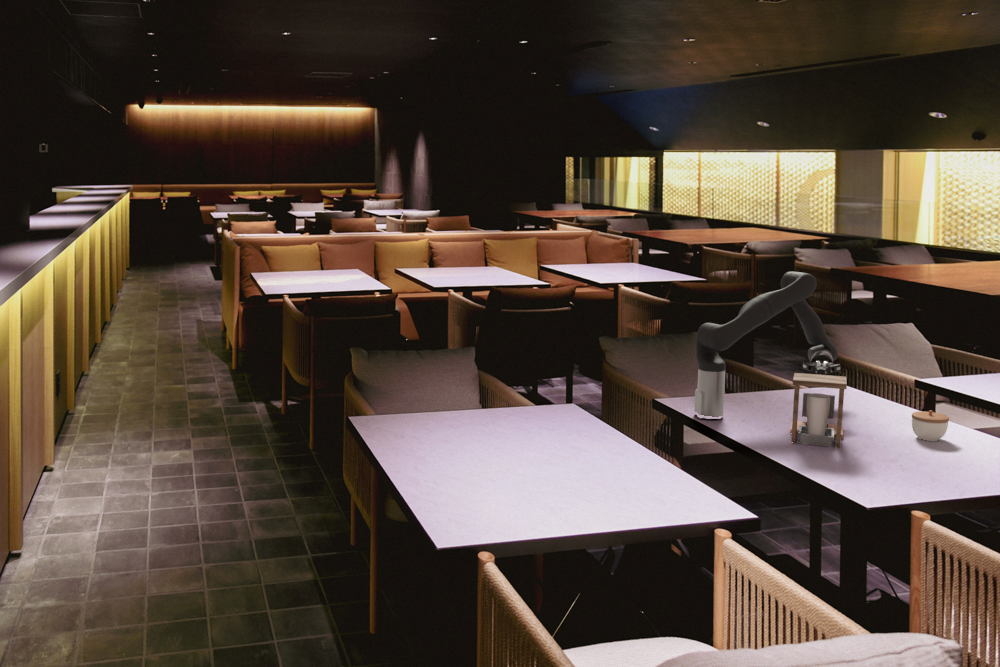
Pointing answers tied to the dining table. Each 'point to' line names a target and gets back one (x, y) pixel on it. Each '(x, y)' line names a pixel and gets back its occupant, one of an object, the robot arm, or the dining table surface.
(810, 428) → the drinking glass
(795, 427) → the walnut tunnel
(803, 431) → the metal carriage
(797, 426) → the board
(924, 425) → the lidded jar
